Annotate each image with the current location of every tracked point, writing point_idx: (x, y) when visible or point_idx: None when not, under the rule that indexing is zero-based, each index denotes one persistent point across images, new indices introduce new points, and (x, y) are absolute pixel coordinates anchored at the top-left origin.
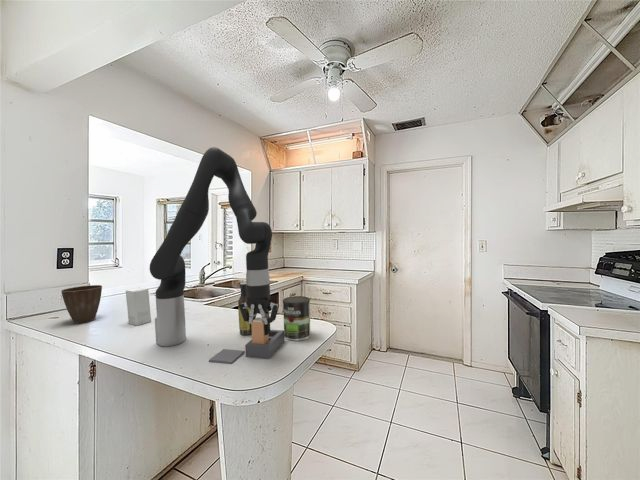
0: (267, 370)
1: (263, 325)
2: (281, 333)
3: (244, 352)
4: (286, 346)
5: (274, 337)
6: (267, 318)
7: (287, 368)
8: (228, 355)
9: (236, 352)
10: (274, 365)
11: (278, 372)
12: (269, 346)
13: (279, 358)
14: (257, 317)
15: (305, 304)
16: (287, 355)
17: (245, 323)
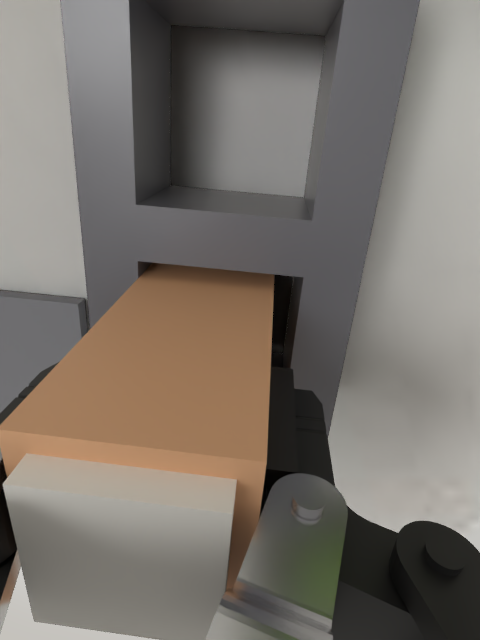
0: (346, 503)
1: None
2: (402, 75)
3: (83, 302)
4: (428, 141)
5: (332, 243)
6: (288, 566)
7: (468, 486)
8: (10, 382)
9: (34, 335)
10: (377, 458)
11: (417, 520)
12: (327, 424)
13: (395, 375)
14: (17, 501)
15: None
16: (455, 328)
17: None
